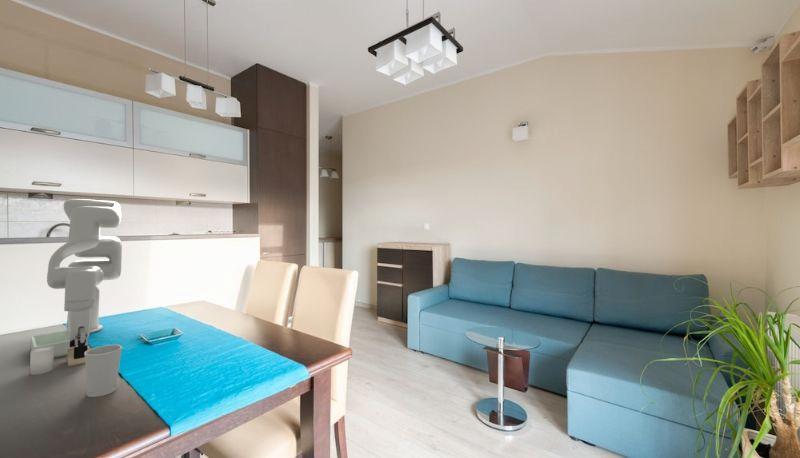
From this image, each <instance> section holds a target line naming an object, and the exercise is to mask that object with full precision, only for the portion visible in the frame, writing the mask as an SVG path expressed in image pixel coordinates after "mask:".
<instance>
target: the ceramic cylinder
mask: <svg viewBox="0 0 800 458" xmlns="http://www.w3.org/2000/svg"><path fill="white" fill-rule="evenodd" d="M54 359H55V358H54V347H44V348H39V349H35V350H32V351H31V350H30V361H29V364H30V365H29V375H31V376H39V375H44V374H47V373H49V372H50V373H51V372H52V371H53V370H54Z"/></svg>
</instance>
